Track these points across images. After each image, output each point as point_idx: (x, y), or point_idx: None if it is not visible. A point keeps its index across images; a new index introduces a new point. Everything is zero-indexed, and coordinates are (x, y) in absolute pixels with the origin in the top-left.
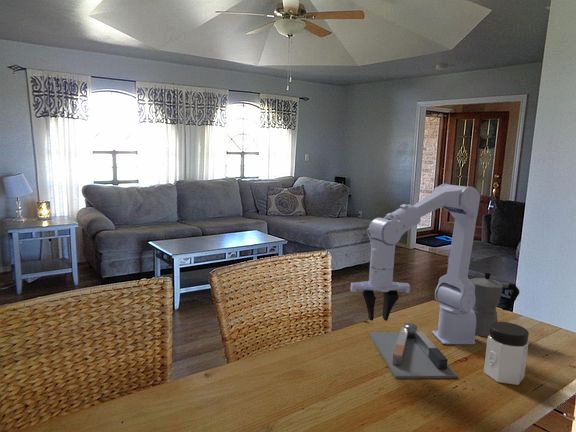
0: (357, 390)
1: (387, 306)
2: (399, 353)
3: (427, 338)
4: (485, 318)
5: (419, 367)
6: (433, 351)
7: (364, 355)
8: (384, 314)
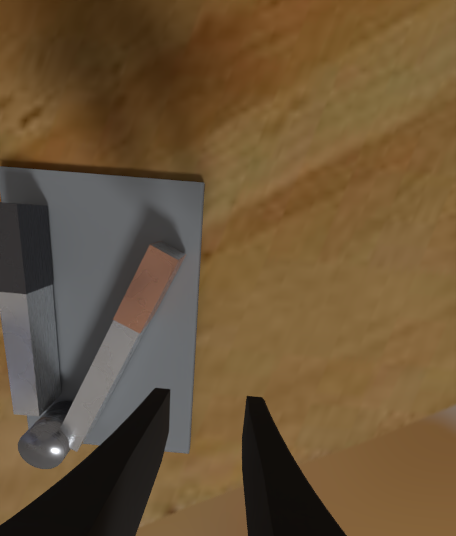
0: (352, 123)
1: (116, 489)
2: (152, 263)
3: (10, 363)
4: None
5: (104, 228)
6: (18, 267)
7: (249, 328)
8: (159, 434)
